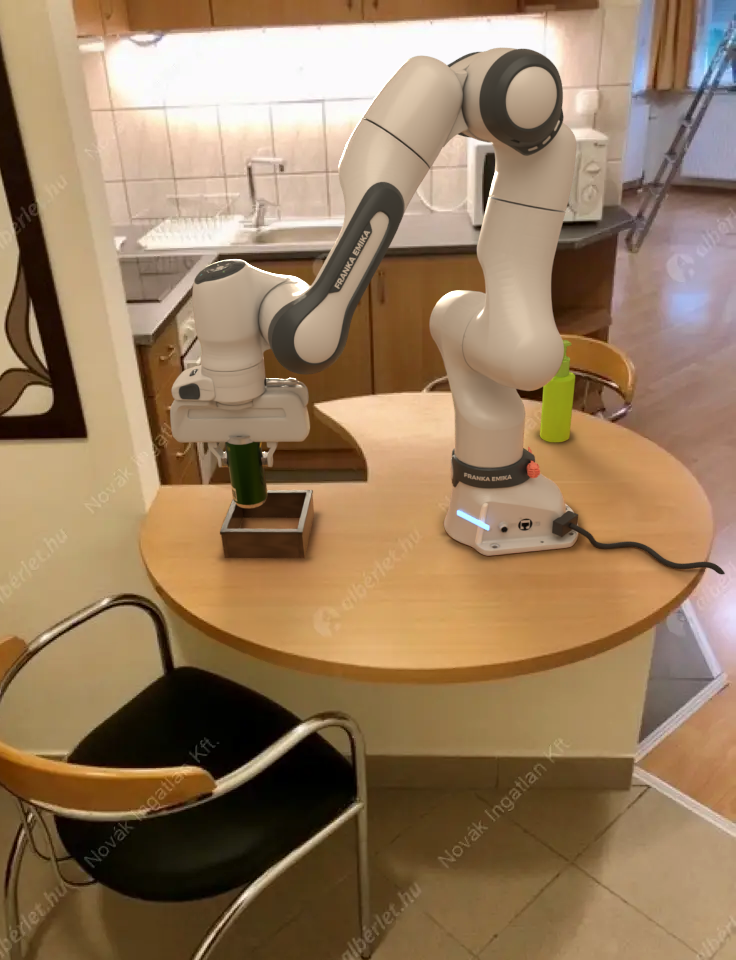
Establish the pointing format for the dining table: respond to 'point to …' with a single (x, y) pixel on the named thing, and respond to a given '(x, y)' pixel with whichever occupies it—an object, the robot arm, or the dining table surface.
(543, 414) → the soap dispenser
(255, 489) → the beer can
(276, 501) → the basket
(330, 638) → the dining table surface
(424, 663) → the dining table surface
